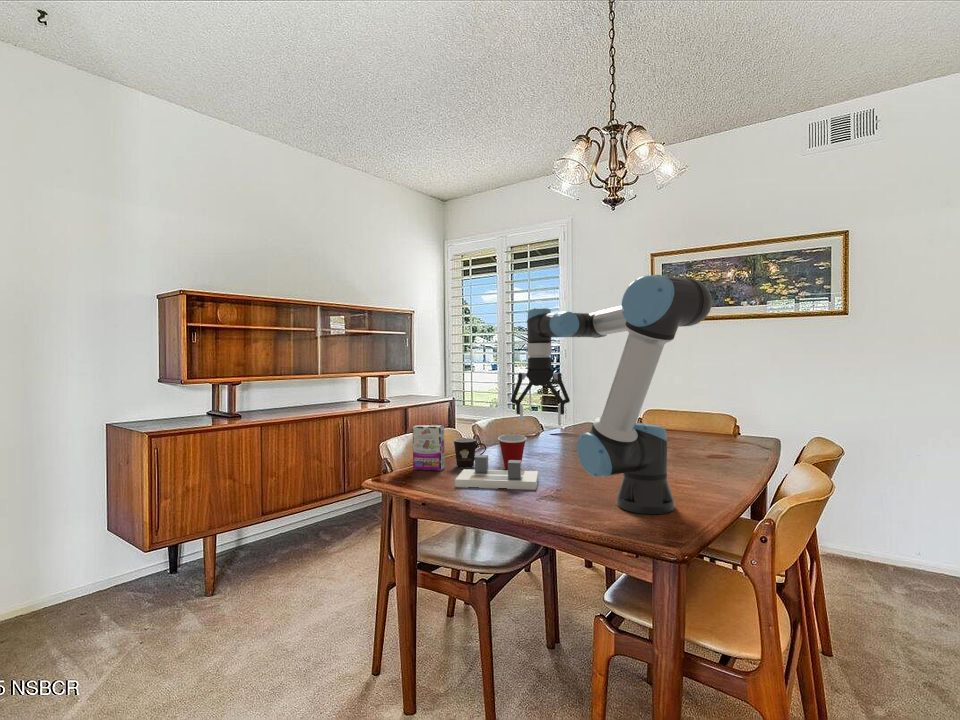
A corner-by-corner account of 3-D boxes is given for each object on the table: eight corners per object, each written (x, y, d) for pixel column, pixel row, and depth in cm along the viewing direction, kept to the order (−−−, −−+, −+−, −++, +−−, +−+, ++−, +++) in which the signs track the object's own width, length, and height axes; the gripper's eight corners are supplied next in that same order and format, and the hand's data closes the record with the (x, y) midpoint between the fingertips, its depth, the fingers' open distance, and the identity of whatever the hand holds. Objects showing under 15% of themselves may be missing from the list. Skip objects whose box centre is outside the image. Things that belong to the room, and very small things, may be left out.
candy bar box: (445, 468, 187) (444, 425, 187) (441, 471, 182) (440, 426, 182) (417, 467, 190) (416, 424, 190) (412, 470, 185) (411, 426, 185)
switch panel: (535, 489, 157) (535, 481, 157) (455, 487, 161) (455, 479, 161) (538, 478, 171) (537, 470, 171) (463, 476, 175) (463, 468, 175)
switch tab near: (520, 478, 159) (520, 463, 159) (507, 478, 160) (507, 462, 160) (521, 475, 163) (521, 460, 163) (509, 475, 164) (509, 460, 164)
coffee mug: (449, 467, 189) (449, 441, 188) (461, 462, 196) (460, 437, 196) (476, 470, 183) (476, 443, 183) (487, 465, 191) (487, 439, 191)
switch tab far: (486, 472, 168) (486, 457, 168) (474, 472, 169) (474, 457, 168) (488, 469, 172) (488, 455, 172) (476, 469, 172) (476, 454, 172)
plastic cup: (498, 472, 180) (497, 439, 180) (498, 465, 191) (497, 434, 190) (528, 472, 179) (527, 439, 179) (526, 465, 190) (526, 434, 190)
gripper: (576, 356, 161) (577, 423, 161) (504, 357, 165) (504, 422, 165) (577, 356, 154) (578, 426, 154) (501, 357, 158) (502, 426, 158)
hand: (540, 424), depth 160 cm, fingers open, 11 cm apart
